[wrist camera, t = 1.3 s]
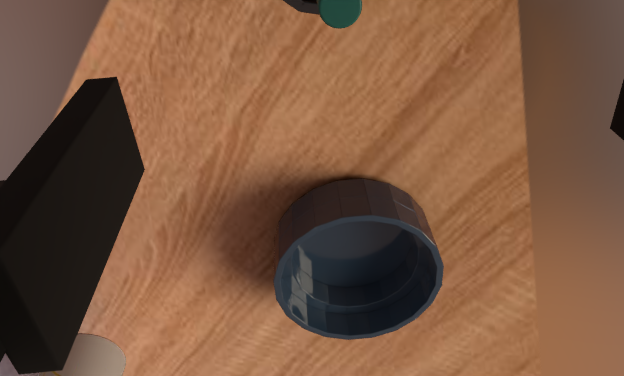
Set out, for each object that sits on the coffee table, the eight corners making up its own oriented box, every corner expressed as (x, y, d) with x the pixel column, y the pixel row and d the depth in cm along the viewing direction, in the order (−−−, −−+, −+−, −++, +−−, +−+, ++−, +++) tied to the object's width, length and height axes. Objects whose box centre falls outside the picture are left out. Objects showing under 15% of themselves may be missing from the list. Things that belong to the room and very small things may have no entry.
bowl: (431, 168, 46) (449, 208, 41) (423, 287, 55) (437, 332, 50) (266, 182, 46) (264, 224, 41) (283, 299, 55) (283, 345, 50)
